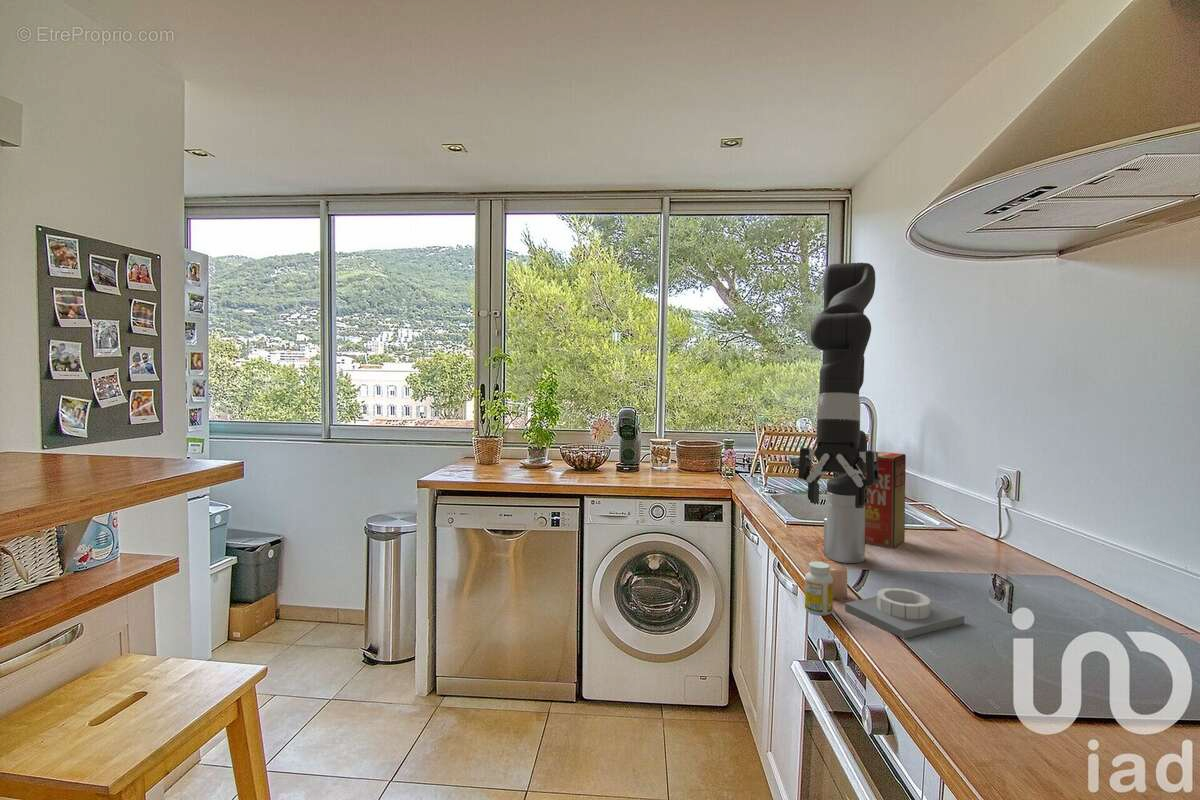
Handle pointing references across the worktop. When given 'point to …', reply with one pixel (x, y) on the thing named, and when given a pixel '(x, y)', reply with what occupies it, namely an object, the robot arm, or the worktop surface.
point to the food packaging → (887, 503)
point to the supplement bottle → (819, 589)
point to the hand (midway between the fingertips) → (836, 505)
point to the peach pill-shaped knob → (839, 581)
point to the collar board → (901, 623)
